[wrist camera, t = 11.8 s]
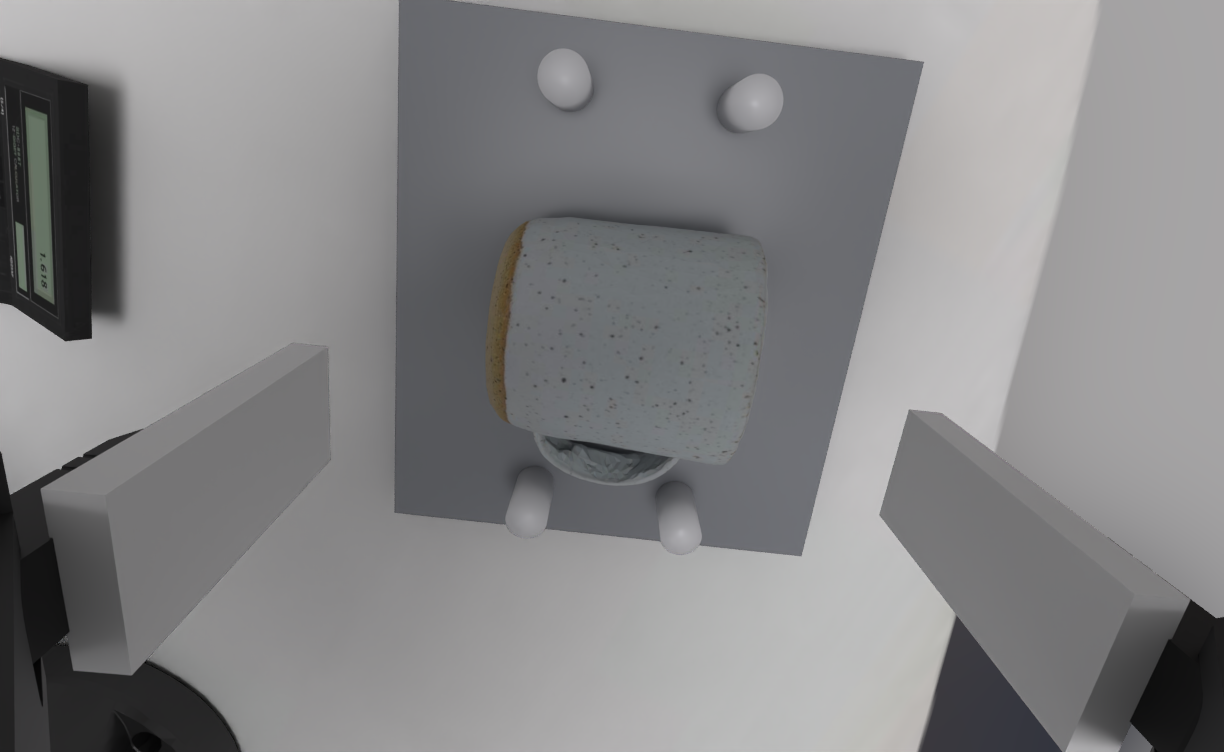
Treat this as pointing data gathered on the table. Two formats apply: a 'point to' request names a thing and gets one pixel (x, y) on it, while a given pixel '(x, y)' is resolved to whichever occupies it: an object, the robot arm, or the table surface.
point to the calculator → (45, 199)
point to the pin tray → (642, 195)
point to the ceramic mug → (626, 343)
